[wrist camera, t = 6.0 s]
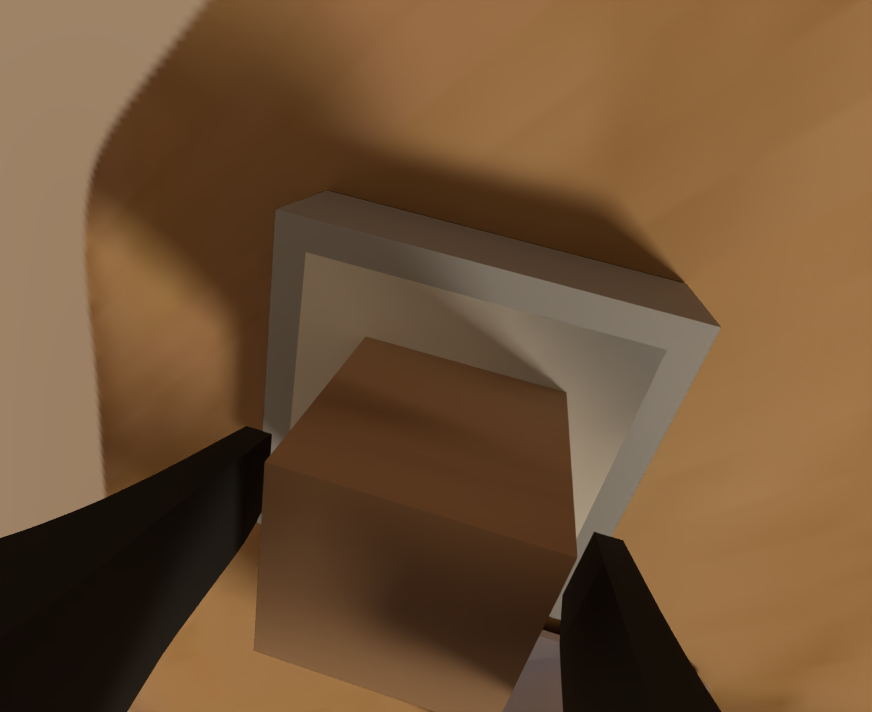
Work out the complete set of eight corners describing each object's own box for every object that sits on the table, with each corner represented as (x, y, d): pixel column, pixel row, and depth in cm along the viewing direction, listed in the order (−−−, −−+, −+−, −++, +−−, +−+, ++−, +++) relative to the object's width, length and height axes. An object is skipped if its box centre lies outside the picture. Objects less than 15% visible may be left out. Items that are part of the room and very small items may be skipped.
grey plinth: (563, 546, 18) (566, 622, 15) (298, 464, 19) (257, 523, 16) (686, 283, 13) (720, 327, 11) (326, 190, 14) (275, 209, 11)
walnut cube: (509, 539, 14) (492, 731, 10) (342, 487, 15) (253, 650, 10) (566, 392, 12) (577, 557, 8) (365, 336, 12) (264, 462, 8)
